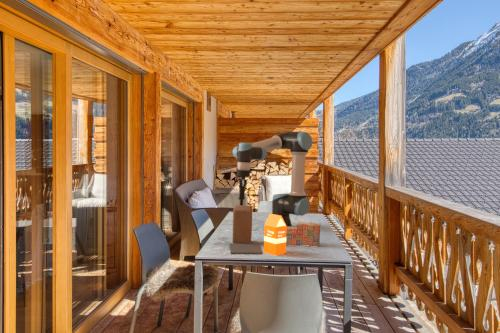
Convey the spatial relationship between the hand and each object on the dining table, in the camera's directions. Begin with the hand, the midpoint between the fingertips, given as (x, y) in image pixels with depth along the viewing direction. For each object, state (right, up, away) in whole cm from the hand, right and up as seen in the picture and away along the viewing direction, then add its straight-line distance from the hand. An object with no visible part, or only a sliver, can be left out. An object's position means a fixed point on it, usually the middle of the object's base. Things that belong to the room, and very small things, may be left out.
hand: (240, 210), depth 252 cm
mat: (+3, -19, -18) cm, 26 cm away
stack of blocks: (+34, -19, -3) cm, 39 cm away
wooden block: (+1, -18, -2) cm, 18 cm away
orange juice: (+18, -20, -24) cm, 36 cm away
